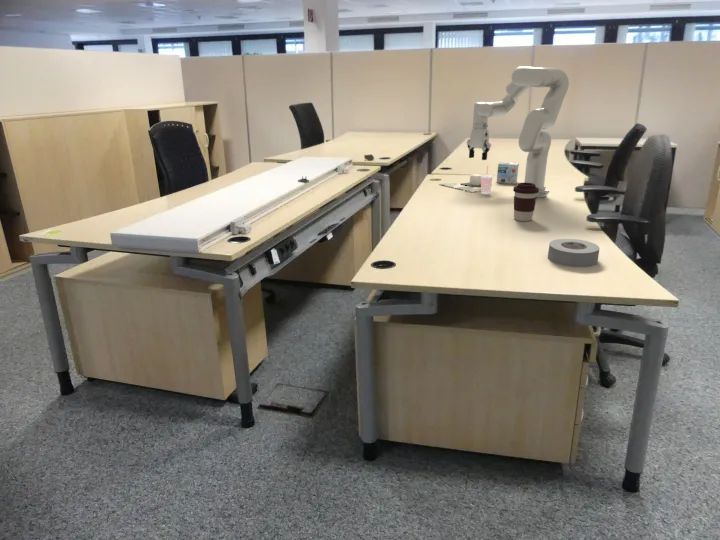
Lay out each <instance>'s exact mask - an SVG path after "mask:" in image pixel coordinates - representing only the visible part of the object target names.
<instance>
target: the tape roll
mask: <svg viewBox="0 0 720 540" xmlns="http://www.w3.org/2000/svg"><path fill="white" fill-rule="evenodd" d="M599 256H600V247H599V245H598V244H596V243H595V242H591V241H588V240H584V239H579V238H578V239H576V238H557V239H553V240H551V241H550V242H549V246H548V252H547V259H548V260H549V261H550V262H552V263H555V264H556V265H561V266H564V267H565V266H566V267H569V268H570V267H571V268H572V267H573V268H589V267H593V266H596V265H597V264H598V262H599Z"/></svg>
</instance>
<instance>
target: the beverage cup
mask: <svg viewBox="0 0 720 540" xmlns="http://www.w3.org/2000/svg"><path fill="white" fill-rule="evenodd" d="M488 170H489V165H487V166H486V174H480V175H481V187H480V189H481V191H480V194H481V193H483V194H482V195H490V194H491V191H492V184H493V183H492V182H493V177H494V176H493V174H488V172H489V171H488Z"/></svg>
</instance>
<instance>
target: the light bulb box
mask: <svg viewBox="0 0 720 540" xmlns="http://www.w3.org/2000/svg"><path fill="white" fill-rule="evenodd" d="M497 165H498V166H497V175H496V183H497V184H499V183H500V184H511V183H513V184H514V185H515V184H517V183H518V176H519V175H518V174H519V165H520V164H519V162H509V161H508V162H507V161H506V162H505V161H503V162H502V161H500V162H498V164H497ZM513 184H512V185H513Z"/></svg>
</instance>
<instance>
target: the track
mask: <svg viewBox="0 0 720 540" xmlns="http://www.w3.org/2000/svg"><path fill="white" fill-rule="evenodd" d="M438 185H439V186H443V187H445V188H446V187H447V188H450V187H451V189H454V188H455V190H459V191H463V190H465V191H464V192H467V191H469V192H468V193H471V192H473V193H478V192H477V191H480V192H481V188H474V187H470V186H465V185H461V183H456V182H455V183H454V182H446V183H439V184H438Z"/></svg>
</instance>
